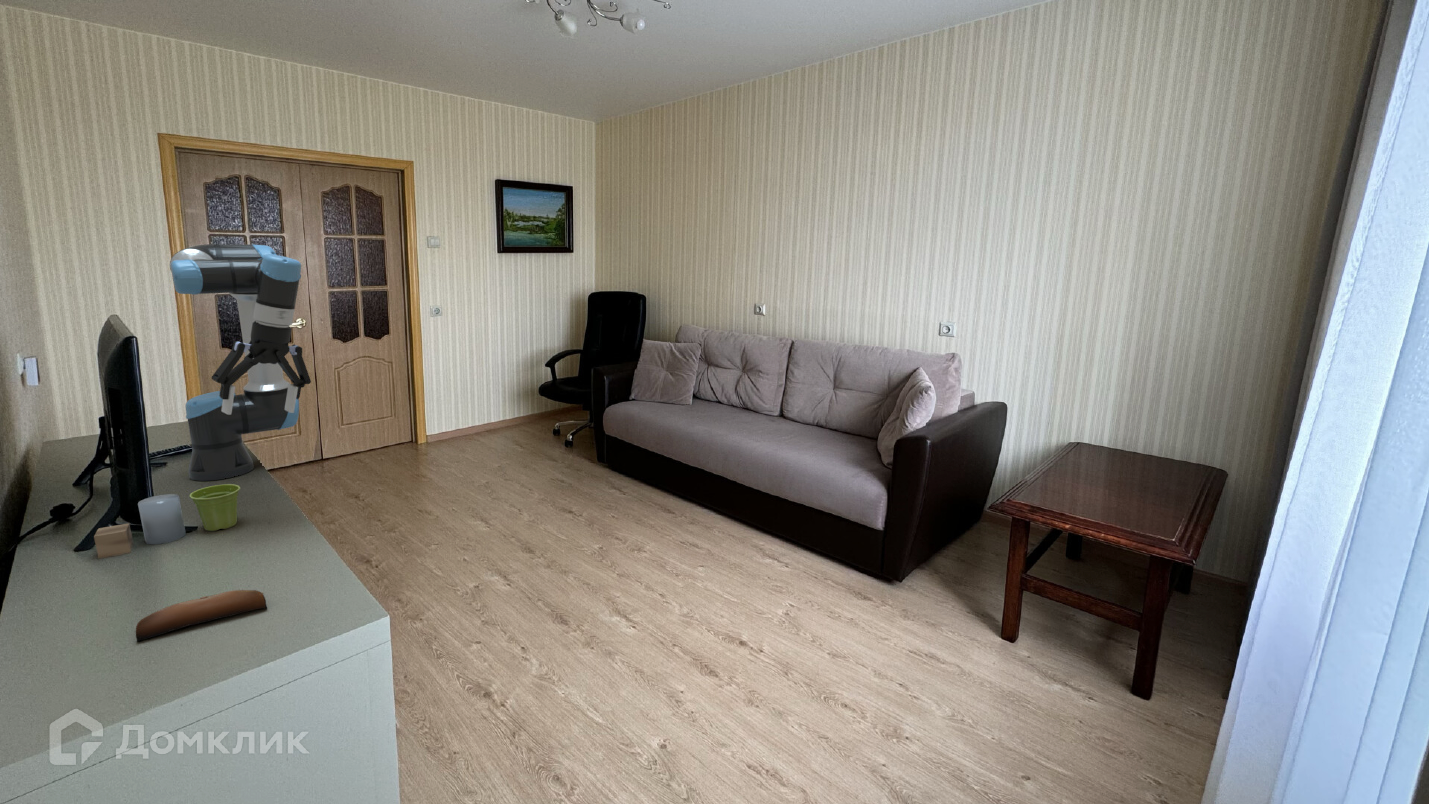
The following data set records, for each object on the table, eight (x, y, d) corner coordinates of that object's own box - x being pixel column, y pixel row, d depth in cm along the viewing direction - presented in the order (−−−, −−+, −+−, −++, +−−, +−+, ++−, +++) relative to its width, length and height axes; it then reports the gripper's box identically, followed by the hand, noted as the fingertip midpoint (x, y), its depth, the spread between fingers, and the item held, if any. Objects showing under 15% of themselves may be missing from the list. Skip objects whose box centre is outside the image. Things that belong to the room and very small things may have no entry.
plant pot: (255, 519, 158) (250, 484, 156) (223, 535, 149) (216, 499, 147) (219, 517, 159) (213, 483, 157) (185, 533, 150) (178, 497, 148)
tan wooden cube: (103, 550, 141) (98, 528, 140) (133, 544, 144) (129, 523, 143) (98, 558, 137) (93, 536, 136) (130, 552, 140) (125, 531, 139)
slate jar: (147, 535, 149) (140, 498, 147) (186, 528, 152) (180, 492, 150) (143, 547, 143) (135, 508, 141) (184, 539, 147) (177, 501, 145)
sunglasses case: (265, 590, 125) (261, 569, 121) (270, 621, 121) (266, 600, 117) (141, 620, 114) (132, 598, 110) (141, 656, 110) (132, 634, 106)
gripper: (219, 322, 138) (205, 418, 141) (335, 332, 160) (321, 415, 163) (201, 314, 141) (188, 408, 145) (317, 324, 163) (304, 406, 167)
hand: (258, 412), depth 154 cm, fingers open, 13 cm apart
